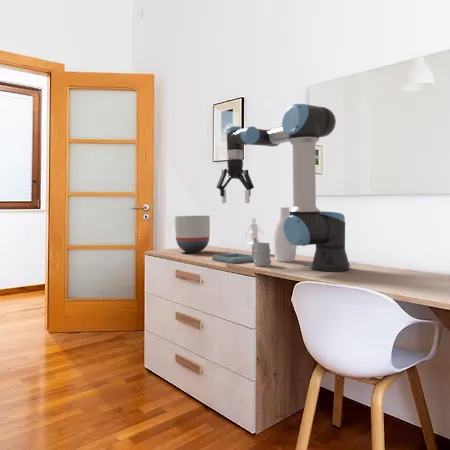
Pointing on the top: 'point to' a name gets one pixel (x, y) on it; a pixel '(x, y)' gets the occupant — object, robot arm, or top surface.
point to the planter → (192, 232)
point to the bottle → (283, 240)
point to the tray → (233, 258)
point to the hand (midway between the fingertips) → (235, 203)
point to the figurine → (254, 232)
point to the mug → (261, 253)
